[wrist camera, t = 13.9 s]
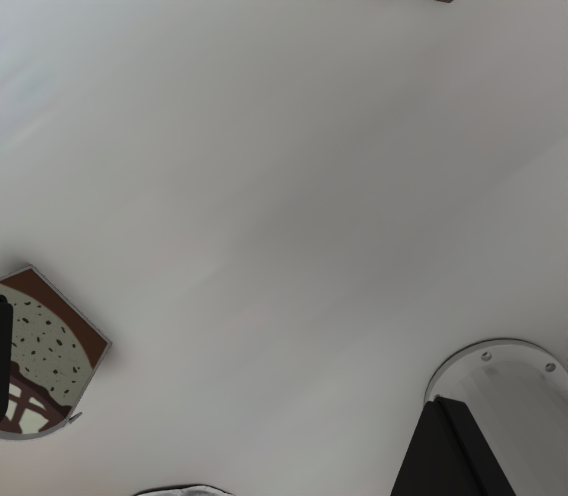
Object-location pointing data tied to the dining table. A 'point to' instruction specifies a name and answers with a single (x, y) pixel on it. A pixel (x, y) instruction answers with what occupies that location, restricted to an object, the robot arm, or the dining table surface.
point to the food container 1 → (46, 357)
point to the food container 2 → (189, 492)
